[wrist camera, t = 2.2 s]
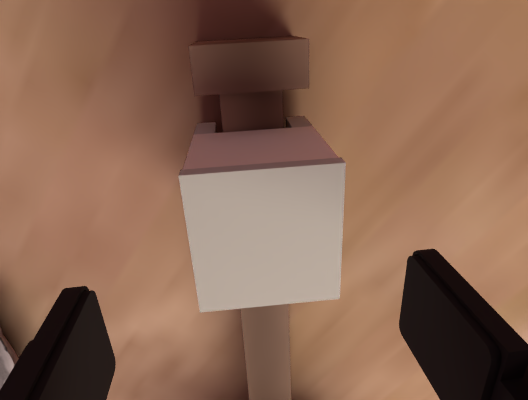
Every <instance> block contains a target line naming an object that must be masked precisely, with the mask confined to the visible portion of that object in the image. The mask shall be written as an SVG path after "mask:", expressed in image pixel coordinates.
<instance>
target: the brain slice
mask: <svg viewBox="0 0 528 400" xmlns="http://www.w3.org/2000/svg"><path fill="white" fill-rule="evenodd" d="M18 359H19V358H18V357H17V355H16V352H15V351H14V350H13V348H12V347H11V345H10V344H9V342H8V341H7V339H6V338H5V337H4V335H3V334H2V329H1V326H0V389H1V388H2V386H3V384H4V383H5V381H6V379H7V378H8V376H9V374H10V373H11V371H12V369H13V368H14V366H15V364H16V363H17V361H18Z"/></svg>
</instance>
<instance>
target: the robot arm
mask: <svg viewBox="0 0 528 400" xmlns="http://www.w3.org/2000/svg"><path fill="white" fill-rule="evenodd" d="M399 328H400V332H401V334H402V336H403V338H404V340H405V341H406V343H407V345H408V346H409V348H410V350H411V351H412V353H413V355H414V356H415V358H416V360H417V362H418V363H419V365H420V367H421V368H422V370H423V372H424V373H425V375H426V377H427V378H428V380H429V382H430V383H431V385H432V387H433V388H434V390H435V392H436V393H437V395H438V397H439V399H440V400H528V344H527V343H526V342H525V341H524V340H523V339H522V338H521V337H520V336H519V335H518V334H517V333H516V332H515V331H514V329H513V328H512V327H511V326H510V325H509V324H508V323H507V322H506V321H505V320H504V319H503V318H502V317H501V316H500V315H499V314H498V313H497V312H496V311H495V310H494V309H493V308H492V307H491V306H490V305H489V304H488V303H487V302H486V301H485V300H484V299H483V298H482V297H481V296H480V295H479V293H478V292H477V291H476V290H475V289H474V288H473V287H472V286H471V285H470V284H469V283H468V282H467V281H466V280H465V279H464V278H463V277H462V276H461V275H460V274H459V273H458V272H457V271H456V270H455V269H454V268H453V267H452V266H451V265H450V264H449V263H448V262H447V261H446V260H445V259H444V257H443V256H442V255H441V254H440V253H439V252H438V251H437V250H435V249H427V250H418V251H414V253H413V255H412V256H409V258H408V260H407V268H406V275H405V283H404V290H403V298H402V305H401V313H400V320H399ZM114 372H115V356H114V353H113V350H112V346H111V343H110V340H109V336H108V333H107V330H106V326H105V323H104V320H103V316H102V313H101V310H100V306H99V303H98V300H97V296H96V293H95V292H94V291H93V290H92V291H89V289H88V288H87V287H86V286H81V287H72V288H65V289H63V290H62V292H61V293H60V295H59V297H58V298H57V300H56V302H55V304H54V305H53V307H52V309H51V310H50V312H49V314H48V316H47V317H46V319H45V321H44V322H43V324H42V326H41V327H40V329H39V331H38V333H37V334H36V336H35V338H34V339H33V340H32V341H30V342H29V343H28V345H27V346H26V347H25V349H24V351H23V352H22V354H21V356H20V357H19V359H18V361H17V363H16V364H15V366H14V368H13V369H12V371H11V373H10V374H9V376H8V378H7V379H6V381H5V383H4V384H3V386H2V388H1V389H0V400H106V399H107V395H108V392H109V389H110V385H111V382H112V378H113V375H114Z"/></svg>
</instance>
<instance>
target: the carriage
mask: <svg viewBox="0 0 528 400" xmlns="http://www.w3.org/2000/svg"><path fill="white" fill-rule="evenodd" d="M345 167H346V163H345V161H344V160H343V159H342V158H341V157H340V158H339V157H338V156H337V155H336V154H335V152H334V151H333V150H332V149H331V148H330V146H329V145H328V144H327V143H326V142H325V140H324V139H323V138H322V137H321V136H320V134H319V133H318V132H317V131H316V130H315V128H314V127H313V126H312V125H311V124H310V122H309V121H308V120H307V119H306V118H305V116H295V117H286V128H279V129H265V130H251V131H237V132H223V133H217V129H216V122H209V123H197V125H196V128H195V132H194V135H193V138H192V141H191V144H190V148H189V151H188V154H187V157H186V160H185V163H184V167H183V170H180V173H179V182H180V188H181V194H182V201H183V207H184V213H185V220H186V226H187V233H188V239H189V245H190V252H191V258H192V264H193V271H194V277H195V283H196V290H197V296H198V303H199V309H200V312H210V311H220V310H230V309H240V308H251V307H261V306H271V305H281V304H291V303H302V302H312V301H322V300H332V299H340V281H341V259H342V236H343V213H344V190H345Z"/></svg>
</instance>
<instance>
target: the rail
mask: <svg viewBox="0 0 528 400" xmlns="http://www.w3.org/2000/svg"><path fill="white" fill-rule="evenodd" d="M188 48H189V55H190V63H191V71H192V79H193V87H194V95H195V96H201V95H216V94H219V98H220V108H221V118H222V128H223V132H237V131H251V130H265V129H279V128H283V96H282V90H292V89H307V88H309V39H307V38H302V37H296V36H283V37H266V38H249V39H231V40H214V41H197V42H195V43H193V44H191V45H189V46H188ZM240 311H241V321H242V331H243V342H244V352H245V362H246V372H247V382H248V392H249V400H291V372H290V338H289V304H281V305H271V306H261V307H251V308H240Z"/></svg>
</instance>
